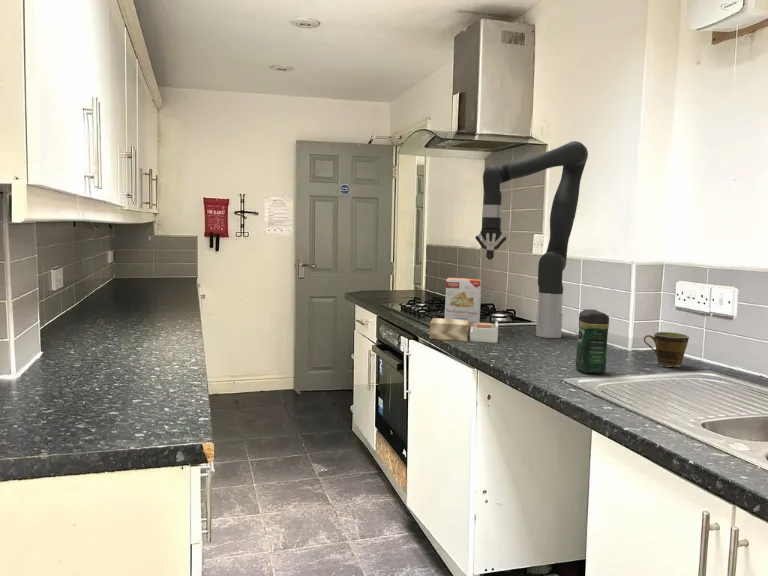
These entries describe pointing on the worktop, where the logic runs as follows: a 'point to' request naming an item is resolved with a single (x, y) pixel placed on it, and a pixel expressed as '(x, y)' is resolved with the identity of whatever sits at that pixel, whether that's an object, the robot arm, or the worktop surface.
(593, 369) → the coffee jar
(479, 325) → the tile
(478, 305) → the cracker box
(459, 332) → the platform
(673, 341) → the ceramic cup
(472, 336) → the bin
